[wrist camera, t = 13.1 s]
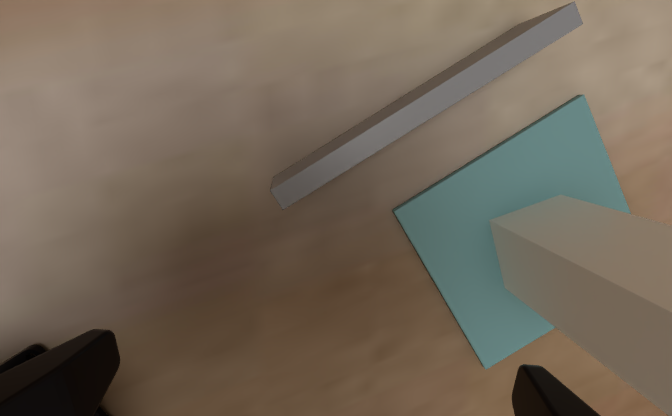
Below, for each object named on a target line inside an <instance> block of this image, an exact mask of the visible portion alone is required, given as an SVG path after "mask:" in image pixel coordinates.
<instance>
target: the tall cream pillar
mask: <svg viewBox="0 0 672 416" xmlns="http://www.w3.org/2000/svg"><path fill="white" fill-rule="evenodd" d="M489 222H490V226H491V231H492V235H493V239H494V244H495V248H496V252H497V257H498V261H499V265H500V269H501V274H502V278H503V282H504V287H505V288H506V289H507V290H508V291H510V292H511V293H512V294H513V295H515V296H516V297H517V298H519V299H520V300H521V301H522V302H524V303H525V304H526V305H528V306H529V307H530V308H531V309H533V310H534V311H535V312H537V313H538V314H539V315H540V316H542V317H543V318H544V319H546V320H547V321H548V322H549V323H551V324H552V325H553V326H554V327H556V328H557V329H558V330H560V331H561V332H562V333H563V334H565V335H566V336H567V337H569V338H570V339H571V340H572V341H574V342H575V343H576V344H578V345H579V346H580V347H581V348H583V349H584V350H585V351H587V352H588V353H589V354H590V355H592V356H593V357H594V358H596V359H597V360H598V361H599V362H601V363H602V364H603V365H604V366H606V367H607V368H608V369H610V370H611V371H612V372H613V373H615V374H616V375H617V376H619V377H620V378H621V379H622V380H624V381H625V382H626V383H628V384H629V385H630V386H631V387H633V388H634V389H635V390H637V391H638V392H639V393H640V394H642V395H643V396H644V397H646V398H647V399H648V400H649V401H651V402H652V403H653V404H654V405H656V406H657V407H658V408H660V409H661V410H662V411H663V412H665V413H666V414H667V415H669V416H672V225H668V224H665V223H661V222H658V221H654V220H650V219H647V218H643V217H640V216H636V215H632V214H629V213H625V212H622V211H618V210H614V209H611V208H607V207H604V206H600V205H596V204H593V203H589V202H586V201H582V200H578V199H575V198H571V197H568V196H564V195H558V196H555V197H553V198H550V199H547V200H544V201H541V202H539V203H536V204H533V205H530V206H527V207H525V208H522V209H519V210H516V211H513V212H510V213H508V214H505V215H502V216H499V217H496V218H494V219H491V220H489Z"/></svg>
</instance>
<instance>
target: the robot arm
mask: <svg viewBox="0 0 672 416" xmlns="http://www.w3.org/2000/svg"><path fill="white" fill-rule="evenodd" d="M31 353H32V354H34V355H35V356H36V357H33V356H32V355H31ZM119 364H120V355H119V351H118V347H117V343H116V339H115V335H114V333H113V332H112V331H110V330H103V329H93V330H90V331H88V332H86V333H84V334H82V335H80V336H78V337H76V338H74V339H71V340H69V341H67V342H65V343H63V344H61V345H59V346H57V347H55V348H53V349H51V350H49V351H46V350H45V349H44V348H42V347H41V346H39V345H31V346H29V347H27V348H26V349H24V350H22V351H21V352H19V353H18V354H16V355H14V356H13V357H11V358H10V359H8V360H6V361H5V362H3V363H2V364H0V416H108V415H107V414H106V413H105V412H104V410H103V409H102V408H101V407H100V406H99V404H100V402H101V400H102V399H103V397H104V395H105V393H106V391H107V389H108V387H109V385H110V383H111V382H112V380H113V378H114V376H115V374H116V372H117V370H118V368H119ZM512 405H513V409H514V414H515V416H600V415H599V414H598V413H597V412H596V411H594V410H593V409H592V408H591V407H590V406H588V405H587V404H586V403H585V402H584V401H583V400H581V399H580V398H579V397H578V396H577V395H575V394H574V393H573V392H572V391H571V390H570V389H568V388H567V387H566V386H565V385H564V384H562V383H561V382H560V381H559V380H558V379H557V378H555V377H554V376H553V375H552V374H551V373H549V372H548V371H547V370H546V369H545V368H543V367H541V366H538V365H526V364H523V365H521V366H520V367H519V369H518V372H517V376H516V380H515V384H514V388H513V392H512Z"/></svg>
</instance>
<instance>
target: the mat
mask: <svg viewBox="0 0 672 416" xmlns="http://www.w3.org/2000/svg"><path fill="white" fill-rule="evenodd" d="M558 195H564V196H568V197H571V198H575V199H578V200H582V201H586V202H589V203H593V204H596V205H600V206H604V207H607V208H611V209H614V210H618V211H622V212H625V213H629V214H631V213H630V210H629V208H628V205H627V203H626V200H625V198H624V195H623V193H622V190H621V187H620V185H619V182H618V180H617V177H616V175H615V172H614V170H613V167H612V165H611V162H610V160H609V157H608V154H607V152H606V149H605V147H604V144H603V142H602V139H601V137H600V134H599V132H598V129H597V126H596V124H595V121H594V119H593V116H592V114H591V111H590V109H589V106H588V104H587V101H586V98H585V96H584V95H578V96H576V97H575V98H573V99H571V100H570V101H568V102H566V103H565V104H563V105H562V106H560V107H558V108H557V109H555V110H554V111H552V112H550V113H549V114H547V115H545V116H544V117H542V118H541V119H539V120H537V121H536V122H534V123H532V124H531V125H529V126H528V127H526V128H524V129H523V130H521V131H519V132H518V133H516V134H515V135H513V136H511V137H510V138H508V139H507V140H505V141H503V142H502V143H500V144H498V145H497V146H495V147H494V148H492V149H490V150H489V151H487V152H485V153H484V154H482V155H481V156H479V157H477V158H476V159H474V160H473V161H471V162H469V163H468V164H466V165H464V166H463V167H461V168H460V169H458V170H456V171H455V172H453V173H451V174H450V175H448V176H447V177H445V178H443V179H442V180H440V181H439V182H437V183H435V184H434V185H432V186H430V187H429V188H427V189H426V190H424V191H422V192H421V193H419V194H417V195H416V196H414V197H413V198H411V199H409V200H408V201H406V202H404V203H403V204H401V205H400V206H398V207H396V208H395V209H393V212H394V214H395V216H396V217H397V219H398V221H399V223H400V224H401V226H402V228H403V229H404V231H405V233H406V235H407V236H408V238H409V240H410V241H411V243H412V245H413V247H414V248H415V250H416V252H417V254H418V255H419V257H420V259H421V260H422V262H423V264H424V266H425V267H426V269H427V271H428V272H429V274H430V276H431V278H432V279H433V281H434V283H435V284H436V286H437V288H438V290H439V291H440V293H441V295H442V297H443V298H444V300H445V302H446V303H447V305H448V307H449V309H450V310H451V312H452V314H453V315H454V317H455V319H456V321H457V322H458V324H459V326H460V327H461V329H462V331H463V333H464V334H465V336H466V338H467V340H468V341H469V343H470V345H471V346H472V348H473V350H474V352H475V353H476V355H477V357H478V358H479V360H480V362H481V364H482V365H483V367H484V368H485V369H488V368H489V367H491V366H493V365H494V364H496V363H498V362H499V361H501V360H502V359H504V358H506V357H507V356H509V355H511V354H512V353H514V352H516V351H517V350H519V349H521V348H522V347H524V346H526V345H527V344H529V343H530V342H532V341H534V340H535V339H537V338H539V337H540V336H542V335H544V334H545V333H547V332H549V331H550V330H552V329H554V328H555V327H554V326H553V325H552V324H551V323H549V322H548V321H547V320H546V319H544V318H543V317H542V316H540V315H539V314H538V313H537V312H535V311H534V310H533V309H531V308H530V307H529V306H528V305H526V304H525V303H524V302H522V301H521V300H520V299H519V298H517V297H516V296H515V295H513V294H512V293H511V292H510V291H508V290H507V289H506V288H505V287H504V282H503V278H502V274H501V269H500V265H499V261H498V257H497V252H496V248H495V244H494V239H493V235H492V231H491V226H490V222H489V220H491V219H494V218H496V217H499V216H502V215H505V214H508V213H510V212H513V211H516V210H519V209H522V208H525V207H527V206H530V205H533V204H536V203H539V202H541V201H544V200H547V199H550V198H553V197H555V196H558Z"/></svg>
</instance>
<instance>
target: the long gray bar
mask: <svg viewBox="0 0 672 416" xmlns="http://www.w3.org/2000/svg"><path fill="white" fill-rule="evenodd" d="M582 24H583V23H582V20H581V17H580V15H579V12H578V9H577V7H576V4H575V1H574V2H572V3H569V4H567V5H564V6H562V7H560V8H557V9H555V10H552V11H550V12H547V13H545V14H542V15H540V16H538V17H535V18H533V19H530V20H528V21H525V22H523V23H520V24H518V25H517V26H515V27H514V28H512V29H510V30H509V31H507V32H506V33H504V34H502V35H501V36H499V37H498V38H496V39H494V40H493V41H491V42H490V43H488V44H486V45H485V46H483V47H481V48H480V49H478V50H477V51H475V52H473V53H472V54H470V55H469V56H467V57H465V58H464V59H462V60H461V61H459V62H457V63H456V64H454V65H453V66H451V67H449V68H448V69H446V70H445V71H443V72H441V73H440V74H438V75H437V76H435V77H433V78H432V79H430V80H428V81H427V82H425V83H424V84H422V85H420V86H419V87H417V88H416V89H414V90H412V91H411V92H409V93H408V94H406V95H404V96H403V97H401V98H400V99H398V100H396V101H395V102H393V103H392V104H390V105H388V106H387V107H385V108H384V109H382V110H380V111H379V112H377V113H375V114H374V115H372V116H371V117H369V118H367V119H366V120H364V121H363V122H361V123H359V124H358V125H356V126H355V127H353V128H351V129H350V130H348V131H347V132H345V133H343V134H342V135H340V136H339V137H337V138H335V139H334V140H332V141H331V142H329V143H327V144H326V145H324V146H322V147H321V148H319V149H318V150H316V151H314V152H313V153H311V154H310V155H308V156H306V157H305V158H303V159H302V160H300V161H298V162H297V163H295V164H294V165H292V166H290V167H289V168H287V169H286V170H284V171H282V172H281V173H279V174H277V175H276V176H274V177H273V181H272V185H271V189H270V192H271V193H272V195H273V196H274V198H275V199H276V201H277V202H278V204H279V205H280V206H281V208H282V209H283V210H284V209H286V208H287V207H289V206H290V205H292V204H294V203H295V202H297V201H298V200H300V199H302V198H303V197H305V196H306V195H308V194H310V193H311V192H313V191H315V190H316V189H318V188H319V187H321V186H323V185H324V184H326V183H327V182H329V181H331V180H332V179H334V178H335V177H337V176H339V175H340V174H342V173H344V172H345V171H347V170H348V169H350V168H352V167H353V166H355V165H356V164H358V163H360V162H361V161H363V160H364V159H366V158H368V157H369V156H371V155H373V154H374V153H376V152H377V151H379V150H381V149H382V148H384V147H385V146H387V145H389V144H390V143H392V142H393V141H395V140H397V139H398V138H400V137H402V136H403V135H405V134H406V133H408V132H410V131H411V130H413V129H414V128H416V127H418V126H419V125H421V124H422V123H424V122H426V121H427V120H429V119H431V118H432V117H434V116H435V115H437V114H439V113H440V112H442V111H443V110H445V109H447V108H448V107H450V106H451V105H453V104H455V103H456V102H458V101H460V100H461V99H463V98H464V97H466V96H468V95H469V94H471V93H472V92H474V91H476V90H477V89H479V88H480V87H482V86H484V85H485V84H487V83H489V82H490V81H492V80H493V79H495V78H497V77H498V76H500V75H501V74H503V73H505V72H506V71H508V70H509V69H511V68H513V67H514V66H516V65H518V64H519V63H521V62H522V61H524V60H526V59H527V58H529V57H530V56H532V55H534V54H535V53H537V52H538V51H540V50H542V49H543V48H545V47H547V46H548V45H550V44H551V43H553V42H555V41H556V40H558V39H559V38H561V37H563V36H564V35H566V34H567V33H569V32H571V31H572V30H574V29H576V28H577V27H579V26H580V25H582Z"/></svg>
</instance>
